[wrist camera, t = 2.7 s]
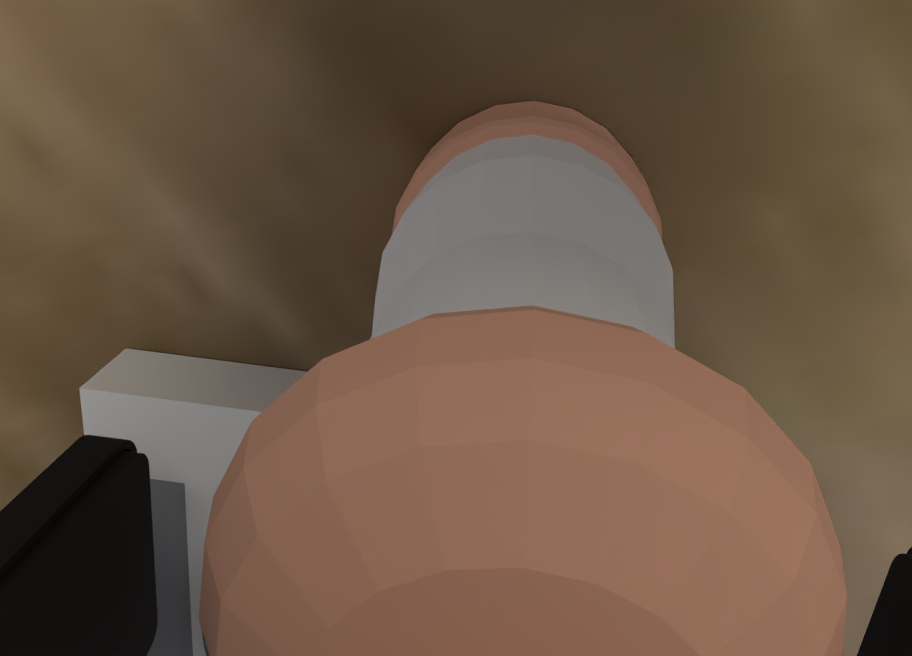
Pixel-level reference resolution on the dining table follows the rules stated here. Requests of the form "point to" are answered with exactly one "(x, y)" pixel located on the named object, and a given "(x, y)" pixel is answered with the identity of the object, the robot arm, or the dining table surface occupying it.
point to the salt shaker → (521, 444)
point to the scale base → (180, 458)
